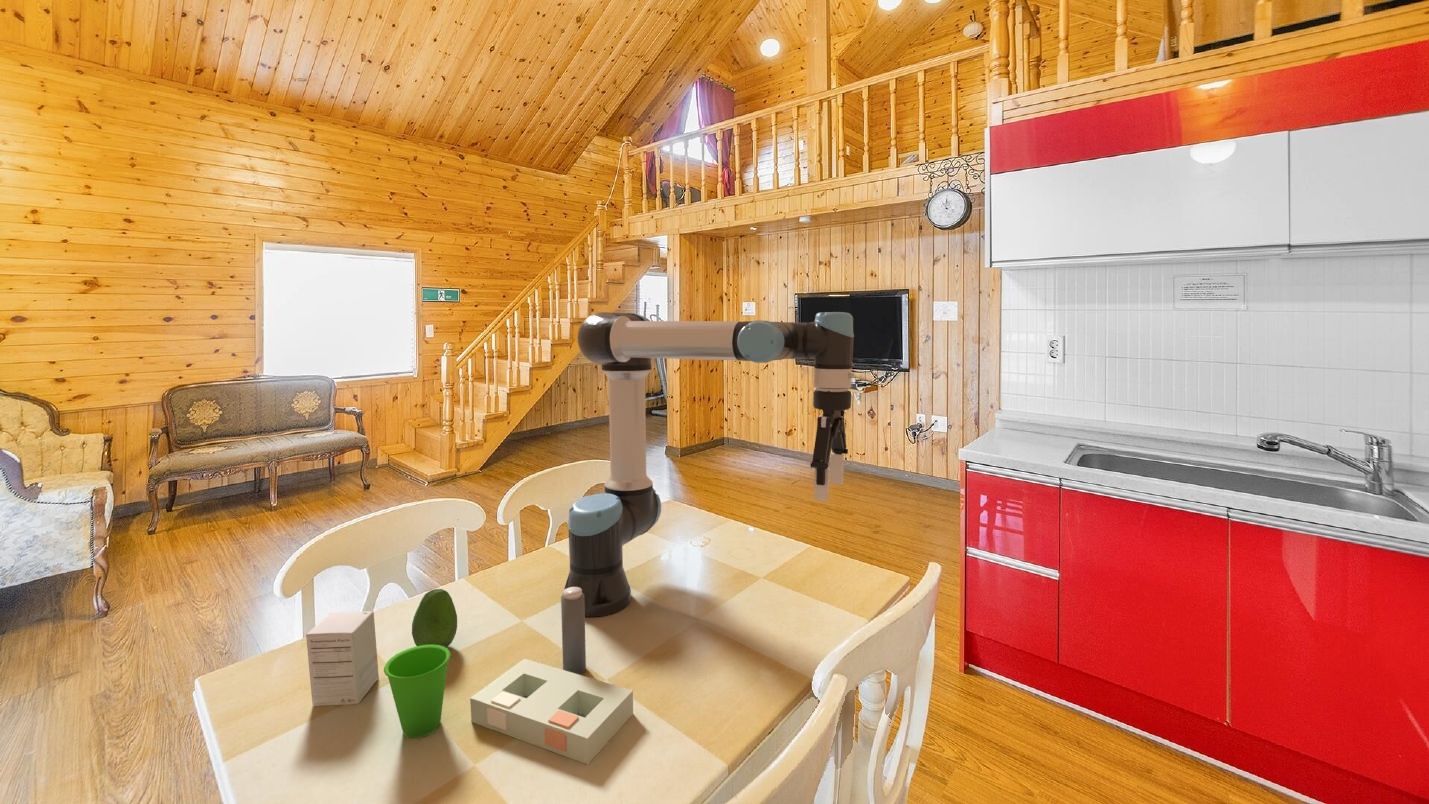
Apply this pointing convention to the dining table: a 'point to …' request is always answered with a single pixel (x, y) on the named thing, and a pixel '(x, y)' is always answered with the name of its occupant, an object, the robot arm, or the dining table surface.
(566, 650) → the plug
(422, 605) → the fruit
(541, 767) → the dining table surface
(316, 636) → the supplement box
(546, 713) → the socket strip
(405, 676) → the cup
